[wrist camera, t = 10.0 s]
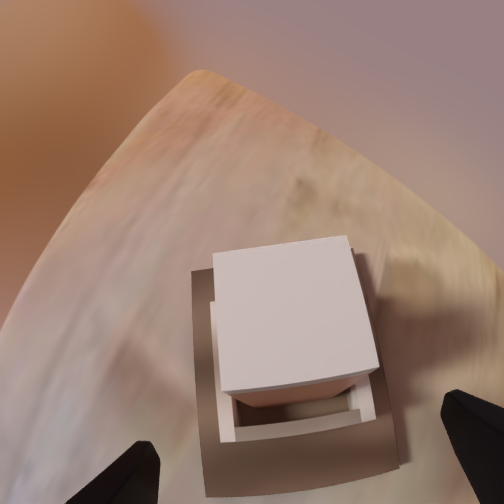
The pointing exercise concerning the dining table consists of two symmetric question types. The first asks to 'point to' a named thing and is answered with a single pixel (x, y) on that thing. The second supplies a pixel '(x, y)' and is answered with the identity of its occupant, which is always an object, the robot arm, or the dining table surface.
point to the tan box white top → (291, 322)
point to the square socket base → (285, 424)
